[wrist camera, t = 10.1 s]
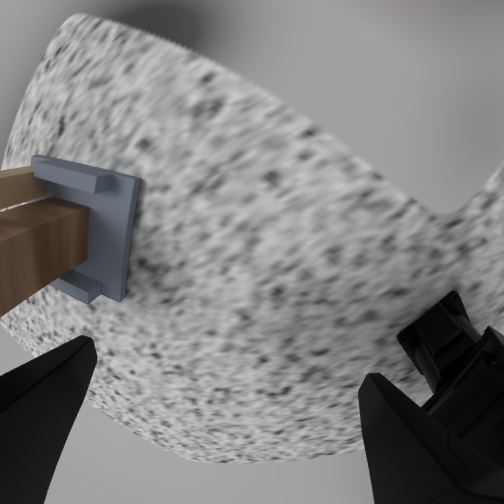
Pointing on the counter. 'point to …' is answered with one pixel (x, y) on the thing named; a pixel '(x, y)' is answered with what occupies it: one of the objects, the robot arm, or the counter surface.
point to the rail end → (39, 246)
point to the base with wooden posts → (100, 221)
